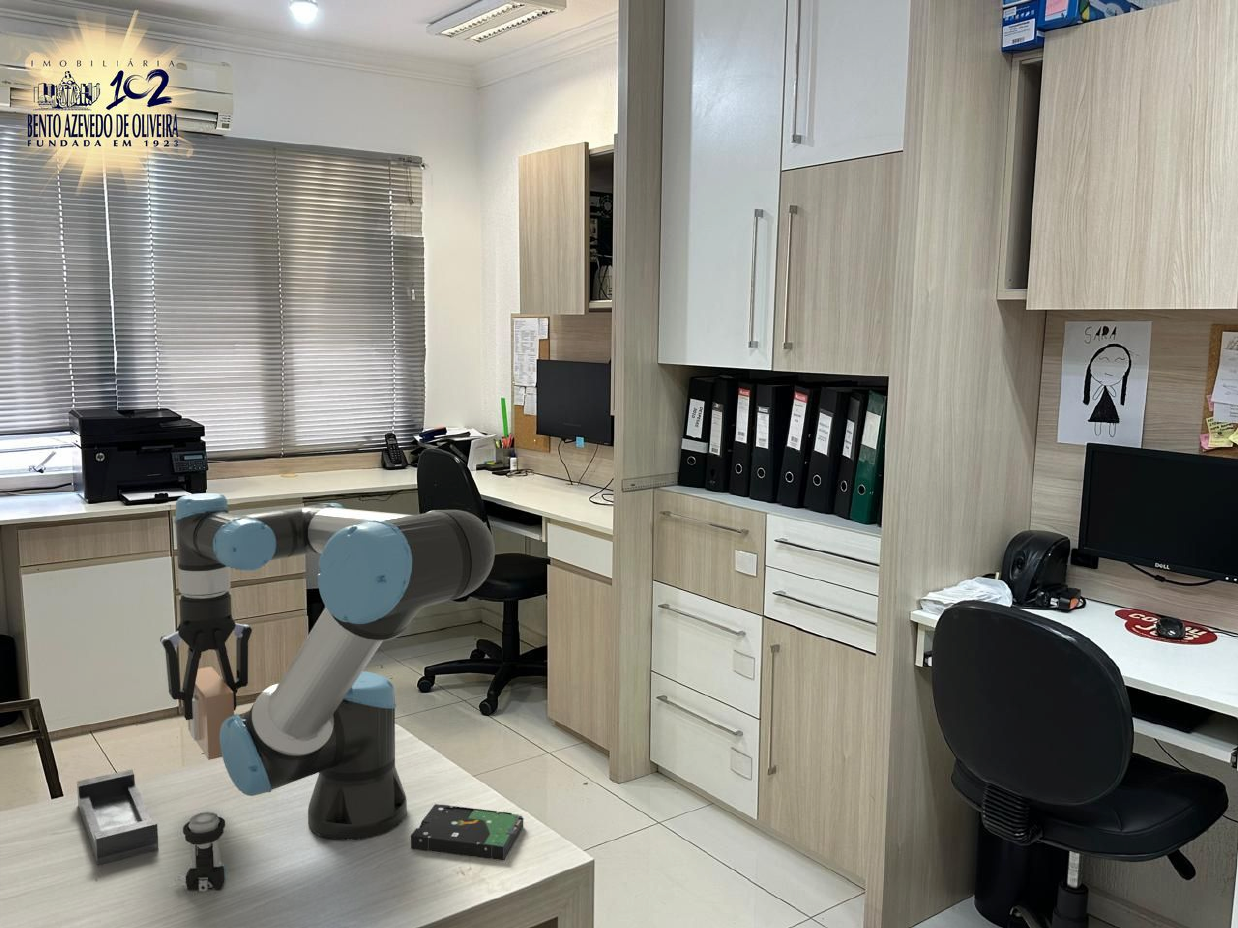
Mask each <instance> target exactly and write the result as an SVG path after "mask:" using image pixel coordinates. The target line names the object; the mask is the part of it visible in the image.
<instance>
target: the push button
mask: <svg viewBox="0 0 1238 928" xmlns="http://www.w3.org/2000/svg"><path fill="white" fill-rule="evenodd" d="M225 827H226V820H225V819H224V818H223V817H222V816H218V814H217V813H215V812H210V811H209V812H208V811H207V812H206V811H205V812H201V813H197V814H195V815H193V816H192V817H191V818H190V820H189V821H188V822H186V823H185V824H184V825H183V828H182V833H183V835H184V838H185V841H186V842H187V843H189V844H190V859H191V860H190V862H191V863H190V864H189V868H188V871H187V872H186V875H184V876H176V877H175V878H174V881H183V882H176V883H175V885H174V887H175V888H176V887H186V890H187V892H188V891H191V892H192V891H199V892H201V893H202V892H207V891H208V890H215V891H221V890H222V889H223V887H224V885H225V882H226V879H227V878H226V865H225V864H224V863H222V861H221V860H220V838H221V837H222V836H223V835H224V831H225V830H224V829H225Z"/></svg>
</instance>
